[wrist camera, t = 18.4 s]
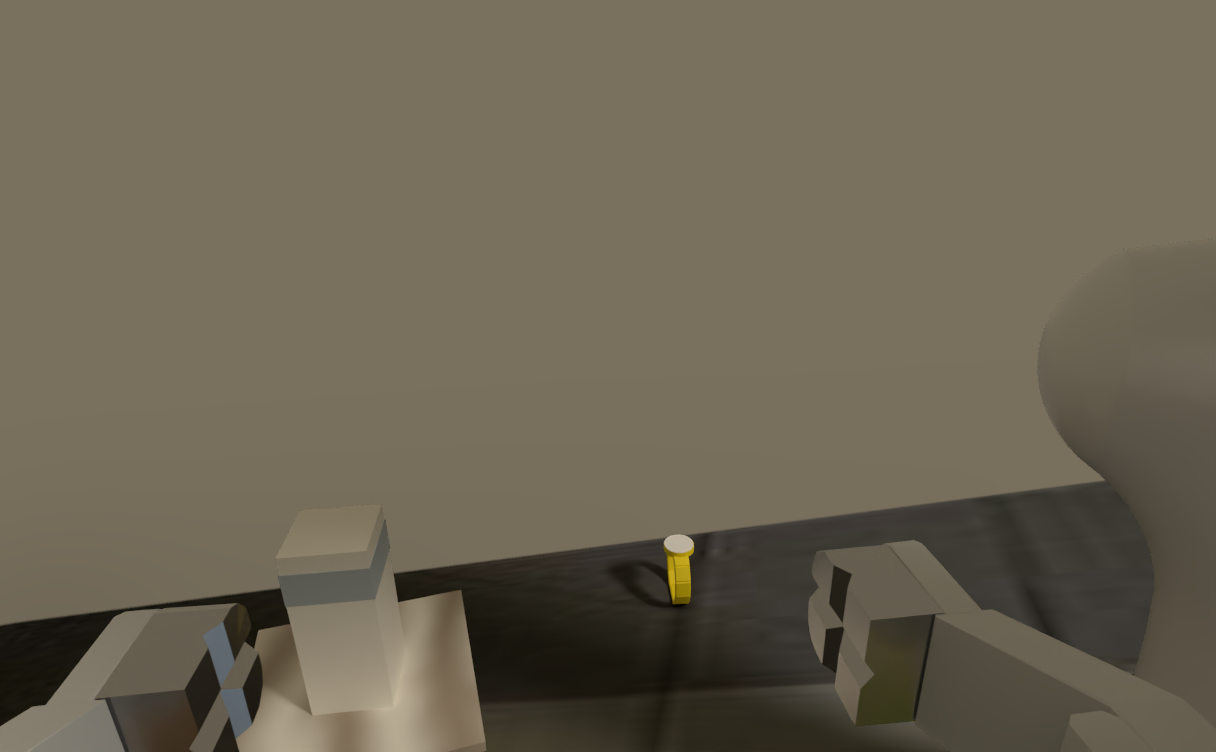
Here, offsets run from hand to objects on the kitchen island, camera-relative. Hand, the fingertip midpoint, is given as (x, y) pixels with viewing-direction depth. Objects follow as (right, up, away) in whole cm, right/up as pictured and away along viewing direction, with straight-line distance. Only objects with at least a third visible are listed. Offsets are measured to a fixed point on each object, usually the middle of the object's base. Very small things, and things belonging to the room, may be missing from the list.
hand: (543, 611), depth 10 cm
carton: (-17, -19, +41) cm, 49 cm away
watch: (+8, -18, +58) cm, 61 cm away
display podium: (-17, -24, +43) cm, 52 cm away
